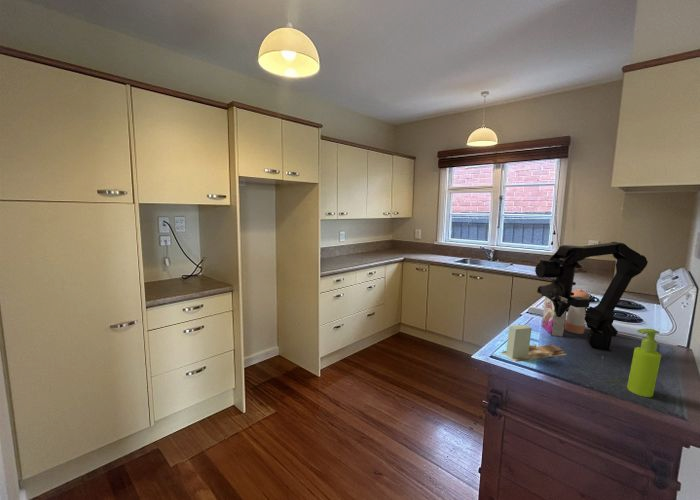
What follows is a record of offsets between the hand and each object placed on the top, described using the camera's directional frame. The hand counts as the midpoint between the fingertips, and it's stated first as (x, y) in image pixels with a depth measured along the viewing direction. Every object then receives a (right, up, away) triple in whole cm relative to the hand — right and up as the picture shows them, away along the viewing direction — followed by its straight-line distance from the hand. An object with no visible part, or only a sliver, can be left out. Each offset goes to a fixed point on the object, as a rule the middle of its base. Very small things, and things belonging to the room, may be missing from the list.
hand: (558, 316), depth 124 cm
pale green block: (-21, -12, -9) cm, 26 cm away
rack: (-14, -13, -7) cm, 20 cm away
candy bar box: (+8, -10, +16) cm, 21 cm away
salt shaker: (+19, -10, +18) cm, 28 cm away
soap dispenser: (+6, -17, -27) cm, 33 cm away
